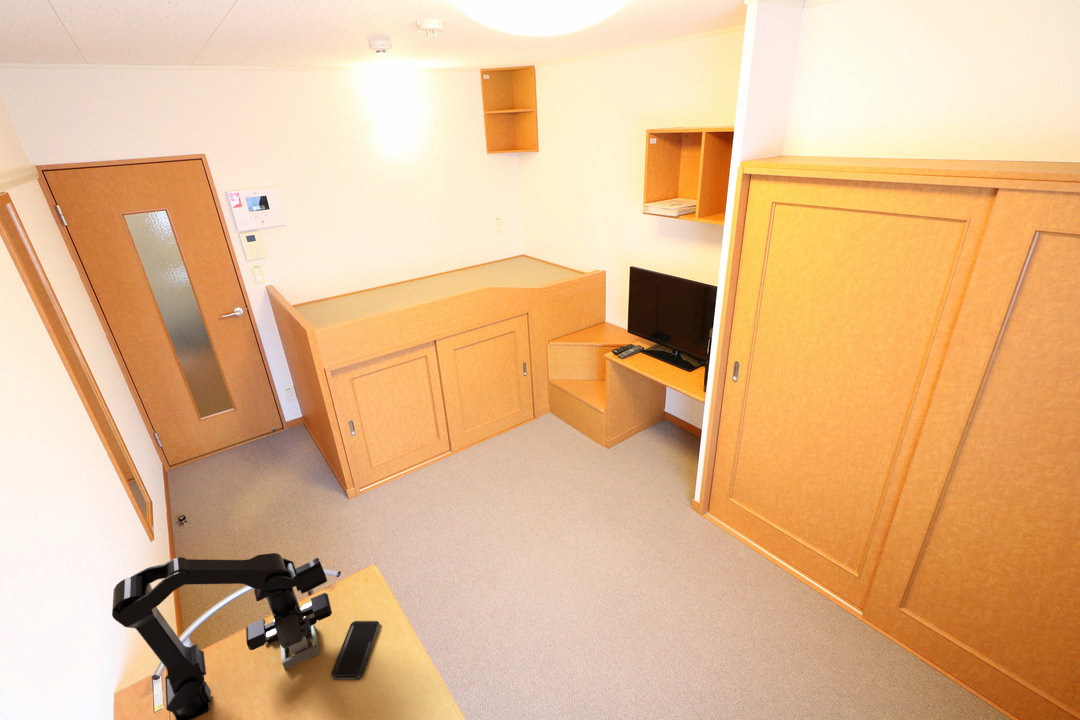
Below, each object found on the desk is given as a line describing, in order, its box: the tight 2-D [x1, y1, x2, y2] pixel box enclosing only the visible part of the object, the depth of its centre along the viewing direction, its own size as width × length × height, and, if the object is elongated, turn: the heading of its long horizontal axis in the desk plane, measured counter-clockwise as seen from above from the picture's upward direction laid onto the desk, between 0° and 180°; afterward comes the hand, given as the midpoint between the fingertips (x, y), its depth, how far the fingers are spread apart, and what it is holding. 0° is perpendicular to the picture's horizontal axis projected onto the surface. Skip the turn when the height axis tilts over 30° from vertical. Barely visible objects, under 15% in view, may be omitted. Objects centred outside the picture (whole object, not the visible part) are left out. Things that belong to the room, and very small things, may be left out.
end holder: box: [279, 624, 321, 671], centre depth 127 cm, size 8×8×3 cm
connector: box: [288, 636, 309, 656], centre depth 126 cm, size 4×4×7 cm
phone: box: [330, 620, 381, 681], centre depth 127 cm, size 8×1×15 cm
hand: (298, 641), depth 127 cm, fingers closed on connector, 4 cm apart
